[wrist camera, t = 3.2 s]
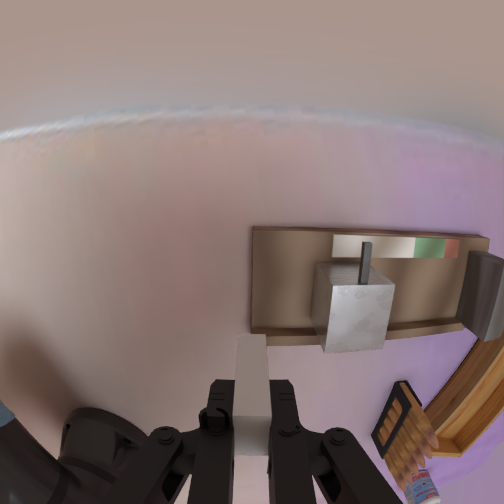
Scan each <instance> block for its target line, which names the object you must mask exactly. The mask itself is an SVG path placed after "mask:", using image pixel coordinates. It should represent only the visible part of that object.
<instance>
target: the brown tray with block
mask: <svg viewBox="0 0 504 504" xmlns="http://www.w3.org/2000/svg"><path fill="white" fill-rule="evenodd" d="M362 241H363V242H371V243H373V245H372V255H371V263H370V265H371V266H372V267H374V268H375V269H376V270H378V271H379V272H380V273H381V274H383V275H384V276H385V277H387V278H388V279H389V280H390V281H392V282H393V283H394V284H395V289H394V295H393V301H392V306H391V311H390V316H389V321H388V326H387V331H386V335H385V340H391V339H401V338H409V337H418V336H426V335H433V334H440V333H447V332H453V331H460V330H463V328H467V329H469V330H470V331H471V332H472V333H474V334H475V335H476V336H477V337H478V338H480V339H481V340H482V341H483V342H485V341H490V340H494V339H498V338H501V335H502V332H503V329H504V259H502V258H500V257H497V256H495V255H493V254H490V253H488V249H489V242H490V239H489V238H486V237H483V236H480V235H466V234H450V233H432V232H412V231H391V230H366V229H338V228H302V227H253V258H252V315H251V334H266V346H292V345H321V344H320V341H319V339H318V337H317V334H316V332H315V329H314V327H313V324H312V322H311V320H310V318H311V308H312V297H313V286H314V274H315V262H360V258H361V248H362Z"/></svg>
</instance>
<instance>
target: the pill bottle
mask: <svg viewBox="0 0 504 504" xmlns="http://www.w3.org/2000/svg"><path fill="white" fill-rule="evenodd" d="M405 482H406V492H404V491H403V492H404V494H405V497H406V499H407V502H408V504H439V503H440V500H441V499H440V496H439V494H438V492H437V489H436V488H435V486H434V483H433V481H432V479H431V477H430V475H429V473H428V472H427V471H419V476H418V477H417V476H415V475H414V474H412V484H411V485H410V484H409V483H408V482H407V481H406V480H405Z"/></svg>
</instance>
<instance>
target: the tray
mask: <svg viewBox="0 0 504 504" xmlns="http://www.w3.org/2000/svg"><path fill="white" fill-rule="evenodd" d="M503 410H504V329H503V332H502V335H501V338H498V339H494V340H490V341H485V342H483V341H482V340H481V339H480V338H479V340H478V341H477V343H476V344H475V346H474V347H473V349H472V350H471V352H470V353H469V354H468V356H467V357H466V359H465V360H464V361H463V363H462V364H461V366H460V367H459V368H458V370H457V371H456V372H455V373H454V375H453V376H452V377H451V379H450V380H449V381H448V382H447V384H446V385H445V386H444V387H443V389H442V390H441V391H440V392H439V393H438V395H437V396H436V397H435V398H434V399H433V401H432V402H431V403H430V404H429V405H428V406H427V407H426V408H425V409H424V413H425V414H426V416H427V418H428V419H429V422H430V425H431V427H432V428H433V430H434V432H435V434H436V436H437V439H438V443H439V448H438V449H436V448H434V447H433V446H432V445H431V444H430V443H429V442H428V443H429V446H430V448H431V452H432V456H441V457H460V456H461V455H463V454H464V453H465V452H466V451H467V450H468V449H469V448H470V447H471V446H472V445H473V444H474V443H475V442H476V441H477V439H478V438H479V437H480V436H481V435H482V434H483V433H484V432H485V431H486V430H487V429H488V427H489V426H490V425H491V424H492V423H493V422H494V421H495V420H496V418H497V417H498V416H499V415H500V414H501V412H502V411H503ZM423 455H424V454H423ZM424 456H425V455H424Z"/></svg>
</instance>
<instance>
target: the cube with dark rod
mask: <svg viewBox="0 0 504 504" xmlns="http://www.w3.org/2000/svg"><path fill="white" fill-rule="evenodd" d="M372 245H373V243H371V242H363V241H362V248H361V258H360V262H315V274H314V286H313V297H312V308H311V318H310V320H311V322H312V324H313V327H314V329H315V332H316V334H317V337H318V339H319V341H320V344H321V346H322V349H323V351H324V353H339V352H353V351H365V350H376V349H382V348H383V344H384V340H385V335H386V331H387V326H388V321H389V316H390V311H391V306H392V301H393V295H394V289H395V284H394V283H393V282H392V281H390V280H389V279H388V278H387V277H385V276H384V275H383V274H381V273H380V272H379V271H378V270H376V269H375V268H374V267H372V266H371V265H370V263H371V255H372Z"/></svg>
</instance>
